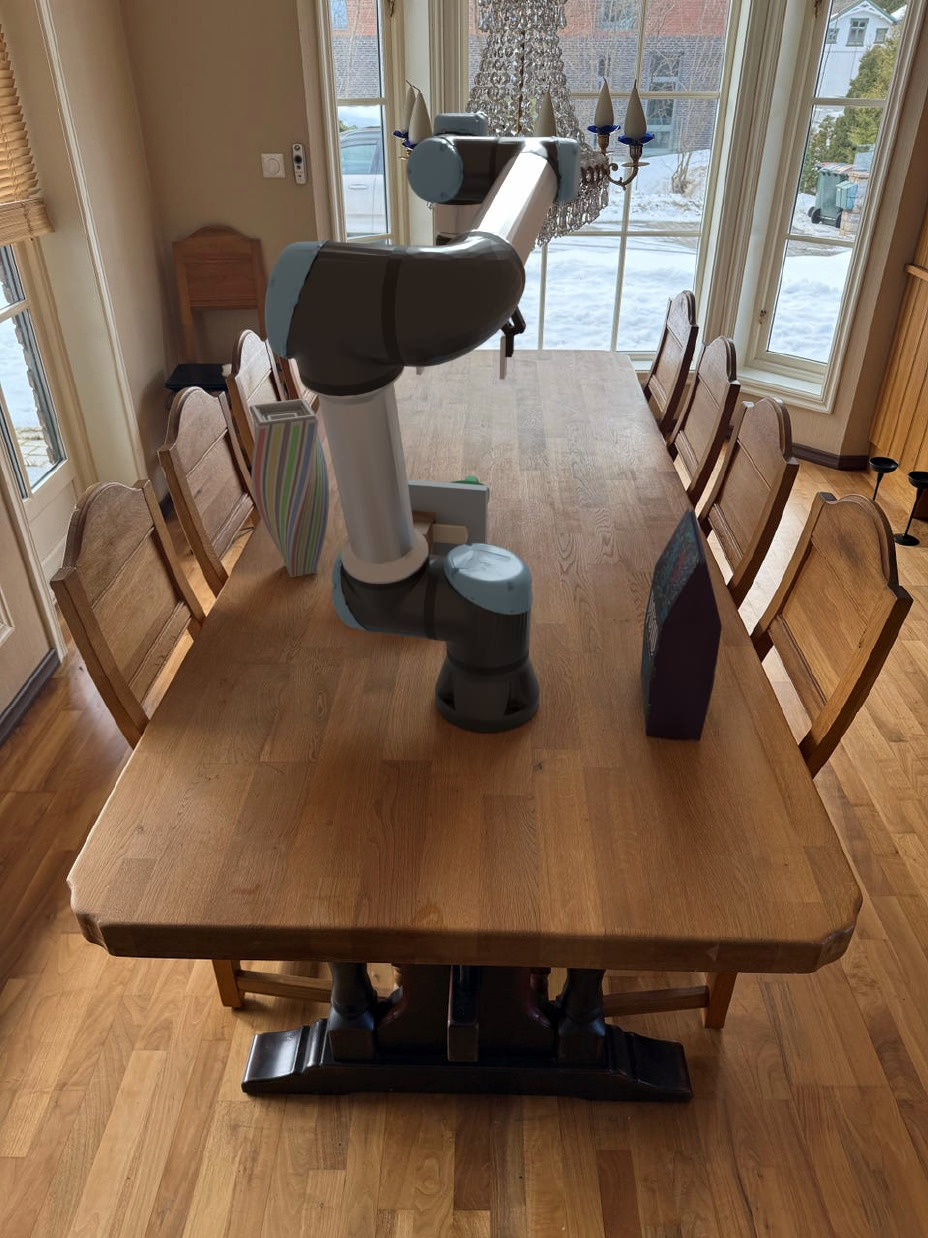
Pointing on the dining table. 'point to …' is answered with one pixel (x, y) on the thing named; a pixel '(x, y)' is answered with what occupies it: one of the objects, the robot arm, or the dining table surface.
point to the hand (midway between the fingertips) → (461, 374)
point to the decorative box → (680, 638)
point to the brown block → (425, 526)
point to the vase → (291, 481)
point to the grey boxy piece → (452, 512)
